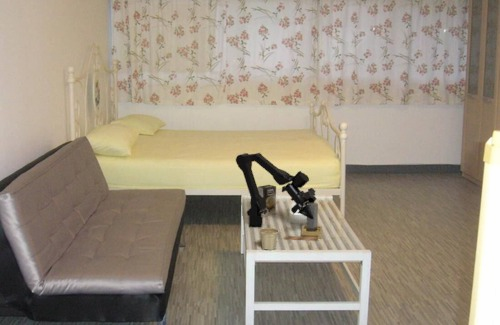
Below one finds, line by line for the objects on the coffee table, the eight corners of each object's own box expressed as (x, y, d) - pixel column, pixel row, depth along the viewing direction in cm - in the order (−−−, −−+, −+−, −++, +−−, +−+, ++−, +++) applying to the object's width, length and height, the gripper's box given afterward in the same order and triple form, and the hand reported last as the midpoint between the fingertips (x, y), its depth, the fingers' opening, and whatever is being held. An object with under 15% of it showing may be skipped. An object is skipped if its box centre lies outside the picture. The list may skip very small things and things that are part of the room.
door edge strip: (285, 239, 295) (285, 237, 295) (285, 238, 297) (285, 236, 297) (317, 240, 293) (317, 238, 293) (317, 239, 295) (317, 237, 295)
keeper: (301, 238, 297) (301, 231, 297) (302, 232, 307) (302, 225, 306) (321, 238, 296) (322, 232, 296) (321, 232, 306) (321, 226, 305)
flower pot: (281, 246, 285) (281, 228, 284) (275, 252, 276) (275, 234, 275) (262, 244, 288) (262, 226, 287) (256, 250, 279) (256, 232, 278)
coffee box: (264, 216, 336) (264, 188, 333) (256, 214, 341) (256, 186, 338) (276, 213, 342) (276, 186, 339) (269, 211, 347) (269, 184, 344)
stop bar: (306, 231, 301) (307, 204, 298) (309, 229, 304) (310, 202, 301) (313, 232, 299) (314, 205, 296) (317, 230, 302) (317, 203, 299)
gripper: (297, 187, 291) (317, 212, 287) (313, 180, 307) (332, 204, 303) (282, 200, 296) (302, 225, 293) (299, 193, 312) (318, 216, 309)
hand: (314, 217), depth 299 cm, fingers closed on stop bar, 4 cm apart
